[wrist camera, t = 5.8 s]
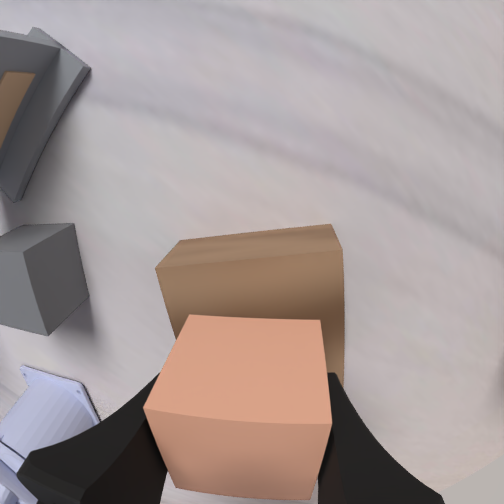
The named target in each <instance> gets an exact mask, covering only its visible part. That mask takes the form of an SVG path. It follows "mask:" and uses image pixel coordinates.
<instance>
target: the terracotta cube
mask: <svg viewBox="0 0 504 504" xmlns="http://www.w3.org/2000/svg"><path fill="white" fill-rule="evenodd" d="M143 409H144V412H145V414H146V417H147V420H148V423H149V425H150V428H151V431H152V433H153V436H154V438H155V441H156V443H157V446H158V448H159V451H160V453H161V455H162V458H163V460H164V463H165V465H166V467H167V469H168V472H169V474H170V476H171V478H172V481H173V483H174V485H175V487H176V488H179V489H185V490H190V491H196V492H202V493H209V494H216V495H224V496H233V497H243V498H256V499H274V500H310V498H311V495H312V492H313V489H314V486H315V483H316V480H317V476H318V473H319V470H320V466H321V463H322V460H323V456H324V453H325V449H326V445H327V442H328V438H329V434H330V430H331V426H332V416H331V406H330V396H329V387H328V378H327V369H326V361H325V353H324V345H323V337H322V330H321V323H320V320H299V319H264V318H241V317H222V316H205V315H190V314H189V316H188V318H187V320H186V322H185V324H184V326H183V328H182V330H181V332H180V334H179V336H178V338H177V340H176V342H175V344H174V346H173V348H172V350H171V352H170V354H169V356H168V358H167V360H166V362H165V364H164V366H163V368H162V370H161V372H160V374H159V376H158V378H157V380H156V382H155V384H154V386H153V388H152V391H151V393H150V395H149V397H148V399H147V401H146V403H145V405H144V407H143Z"/></svg>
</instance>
